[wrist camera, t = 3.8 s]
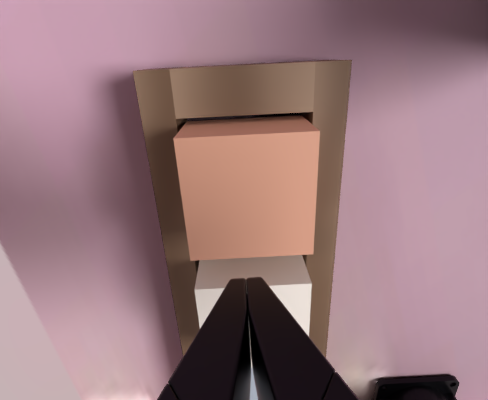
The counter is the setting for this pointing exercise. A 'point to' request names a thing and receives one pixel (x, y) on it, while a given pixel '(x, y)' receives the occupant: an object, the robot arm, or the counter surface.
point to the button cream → (269, 268)
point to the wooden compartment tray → (236, 104)
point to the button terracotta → (248, 186)
